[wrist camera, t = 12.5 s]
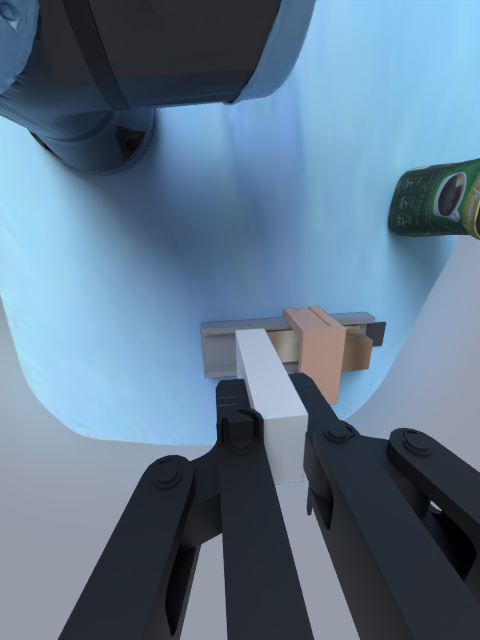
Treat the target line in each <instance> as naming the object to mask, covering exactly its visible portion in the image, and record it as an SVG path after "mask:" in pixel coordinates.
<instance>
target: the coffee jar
mask: <svg viewBox="0 0 480 640" xmlns="http://www.w3.org/2000/svg"><path fill="white" fill-rule="evenodd" d="M389 225H390V228H391V229H392V231H393V232H394V233H396V234H398V235H401V236H410V237H425V236H439V235H471V236H473V237H474V238H476V239H479V240H480V158H479V159H475V160H470V161H465V162H458V163H450V164H440V165H431V166H424V167H419V168H414V169H411V170H409V171H407V172H406V173H405V174H404V175H403V176H402V177H401V178H400V180H399V182H398V184H397V187H396V190H395V193H394V196H393V200H392V204H391V209H390V215H389Z"/></svg>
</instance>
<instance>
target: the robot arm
mask: <svg viewBox="0 0 480 640" xmlns="http://www.w3.org/2000/svg"><path fill="white" fill-rule="evenodd" d="M315 3H316V0H0V115H1V116H3V117H5V118H7V119H9V120H11V121H13V122H15V123H17V124H19V125H21V126H23V127H25V128H27V129H28V131H29V132H30V133H31V134H32V136H33V137H34V138H35V139H36V141H37V142H38V143H39V144H40V145H41V146H42V147H43V148H44V149H45V150H46V151H48V152H49V153H50V154H51V155H53V156H54V157H55V158H57V159H58V160H60V161H61V162H63V163H65V164H67V165H69V166H71V167H73V168H76V169H78V170H81V171H84V172H87V173H91V174H98V175H109V174H115V173H119V172H121V171H124V170H126V169H128V168H129V167H131V166H132V165H134V164H135V163H136V162H137V161H138V160H139V159H140V158H141V157H142V156H143V154H144V153H145V151H146V150H147V148H148V146H149V143H150V141H151V138H152V134H153V130H154V123H155V109H154V108H164V107H175V106H186V105H198V104H209V103H220V102H223V103H224V104H225V105H234V104H236V103H238V102H240V101H241V100H248V99H255V98H262V97H267V96H269V95H271V94H272V93H273V92H274V91H276V90H277V89H278V88H279V87H281V86H282V85H283V84H284V82H285V81H286V80H287V78H288V76H289V75H290V73H291V71H292V70H293V68H294V66H295V63H296V61H297V59H298V57H299V54H300V52H301V49H302V46H303V44H304V41H305V38H306V35H307V31H308V28H309V25H310V21H311V18H312V14H313V10H314V6H315ZM235 334H236V361H237V378H238V379H233V380H222V381H220V382H219V384H218V385H217V387H216V408H217V424H216V427H217V441H216V444H215V445H214V447H213V448H212V449H211V450H210V451H209V452H208V453H207V454H205V455H203V456H201V457H199V458H197V459H195V460H192V461H189V460H187V459H186V458H185V457H182V456H179V455H168V456H165V457H162V458H160V459H157V460H156V461H155V462H153V463H152V464H151V465H149V466H148V468H147V470H146V471H145V472H144V473H143V475H142V477H141V479H140V481H139V483H138V485H137V487H136V489H135V490H134V492H133V494H132V496H131V498H130V500H129V502H128V504H127V506H126V508H125V510H124V512H123V514H122V516H121V518H120V520H119V522H118V523H117V525H116V528H115V529H114V531H113V533H112V535H111V537H110V539H109V541H108V543H107V545H106V547H105V549H104V551H103V553H102V555H101V557H100V559H99V560H98V562H97V564H96V566H95V568H94V570H93V572H92V574H91V576H90V578H89V580H88V582H87V584H86V586H85V588H84V590H83V592H82V593H81V595H80V597H79V599H78V601H77V603H76V605H75V607H74V609H73V611H72V613H71V615H70V617H69V619H68V621H67V623H66V625H65V626H64V629H63V631H62V632H61V634H60V636H59V638H58V640H180V636H181V631H182V627H183V623H184V618H185V613H186V609H187V604H188V601H189V596H190V592H191V587H192V583H193V578H194V574H195V570H196V565H197V561H198V556H199V552H200V548H201V544H203V543H204V542H206V541H208V540H210V539H212V538H213V537H215V536H217V535H219V534H221V533H222V537H223V558H224V577H225V595H226V596H225V597H226V617H227V636H228V640H314V637H313V634H312V629H311V625H310V622H309V617H308V614H307V610H306V606H305V602H304V598H303V594H302V590H301V586H300V583H299V579H298V574H297V570H296V567H295V563H294V559H293V555H292V551H291V547H290V544H289V539H288V535H287V531H286V527H285V524H284V520H283V516H282V512H281V508H280V504H279V500H278V496H277V492H276V488H275V485H280V484H288V483H296V482H303V474H304V471H305V473H306V476H307V478H308V481H309V488H308V498H307V514H308V515H311V512H312V507H313V510H314V513H315V516H316V518H317V521H318V524H319V527H320V530H321V532H322V535H323V538H324V540H325V543H326V546H327V549H328V552H329V554H330V557H331V560H332V562H333V565H334V568H335V571H336V574H337V577H338V579H339V582H340V585H341V588H342V590H343V593H344V596H345V599H346V601H347V604H348V607H349V610H350V613H351V615H352V618H353V621H354V624H355V626H356V629H357V632H358V635H359V638H360V640H480V472H478V471H477V470H475V469H474V468H473V467H471V466H470V465H469V464H467V463H466V462H464V461H463V460H462V459H461V458H459V457H458V456H456V455H455V454H453V453H452V452H451V451H450V450H448V449H447V448H446V447H444V446H443V445H441V444H440V443H439V442H437V441H436V440H435V439H433V438H432V437H430V436H428V435H426V434H425V433H423V432H420V431H417V430H414V429H408V428H399V429H395V430H394V431H392V432H391V434H390V438H389V440H386V439H379V438H372V437H366V436H362V435H360V434H359V432H358V431H357V430H356V429H355V428H354V427H353V426H352V425H350V424H348V423H347V422H345V421H342V420H339V419H338V417H337V416H336V414H335V413H334V411H333V410H332V408H331V407H330V405H329V404H328V402H327V401H326V399H325V397H324V396H323V395H322V393H321V391H320V390H319V388H318V387H317V385H316V384H315V382H314V381H313V379H312V378H310V377H309V376H307V375H306V374H305V373H292V374H287V372H286V370H285V368H284V366H283V364H282V362H281V360H280V358H279V357H278V355H277V353H276V351H275V349H274V347H273V345H272V343H271V341H270V339H269V337H268V335H267V333H266V331H265V329H264V328H263V329H248V330H235ZM431 500H432V501H433V502H434V503H435V504H436V505H437V506H438V507H439V508H440V509H441V510H442V511H440V510H438V509H436V508H435V507H433V506H432V505H431V504H430V503H431Z"/></svg>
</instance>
